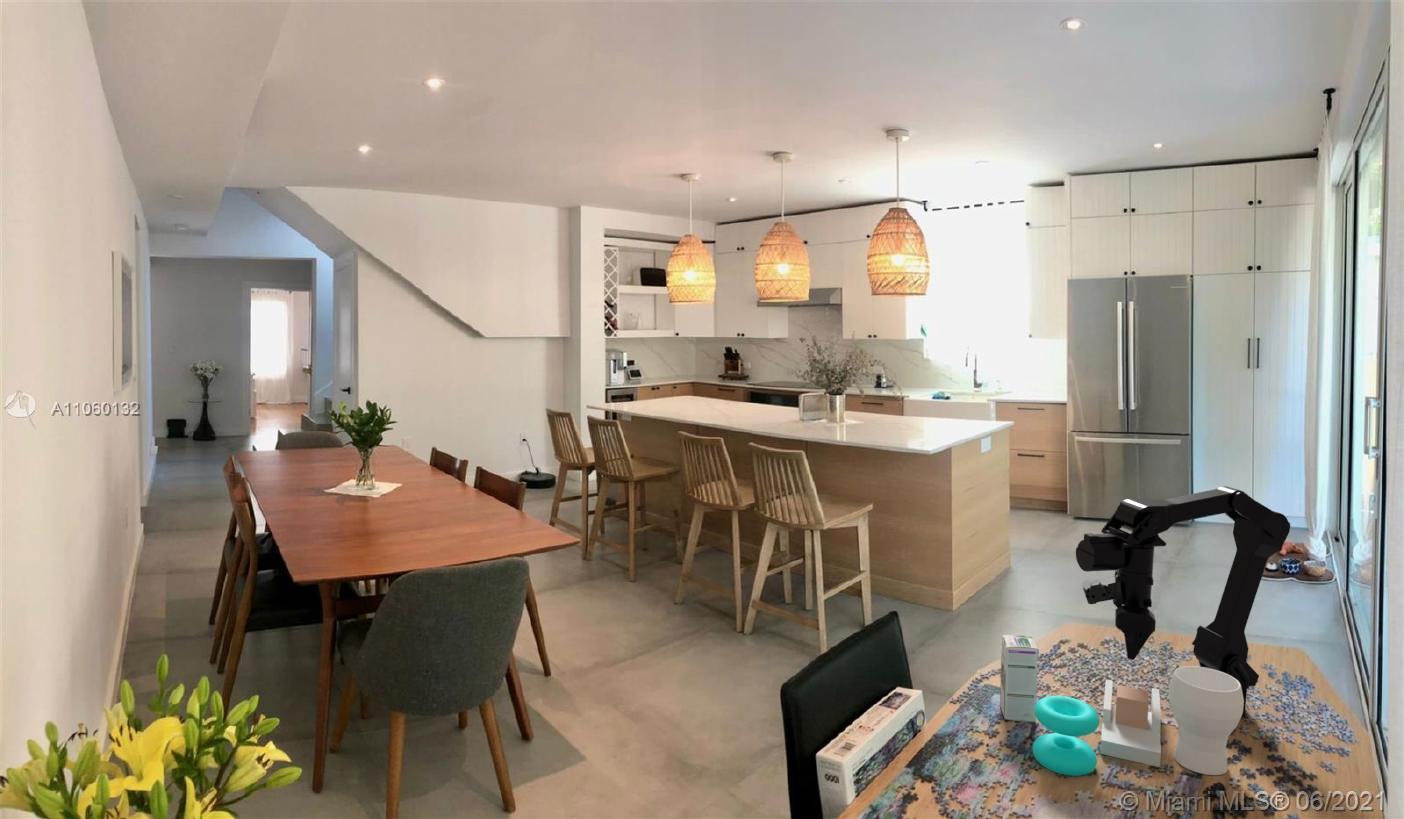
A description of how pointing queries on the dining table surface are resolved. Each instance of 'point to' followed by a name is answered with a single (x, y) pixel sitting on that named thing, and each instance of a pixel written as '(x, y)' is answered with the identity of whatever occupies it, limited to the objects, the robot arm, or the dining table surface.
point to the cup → (1204, 716)
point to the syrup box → (1018, 678)
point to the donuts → (1065, 735)
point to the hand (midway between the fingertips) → (1129, 649)
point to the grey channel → (1131, 733)
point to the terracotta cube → (1132, 707)
